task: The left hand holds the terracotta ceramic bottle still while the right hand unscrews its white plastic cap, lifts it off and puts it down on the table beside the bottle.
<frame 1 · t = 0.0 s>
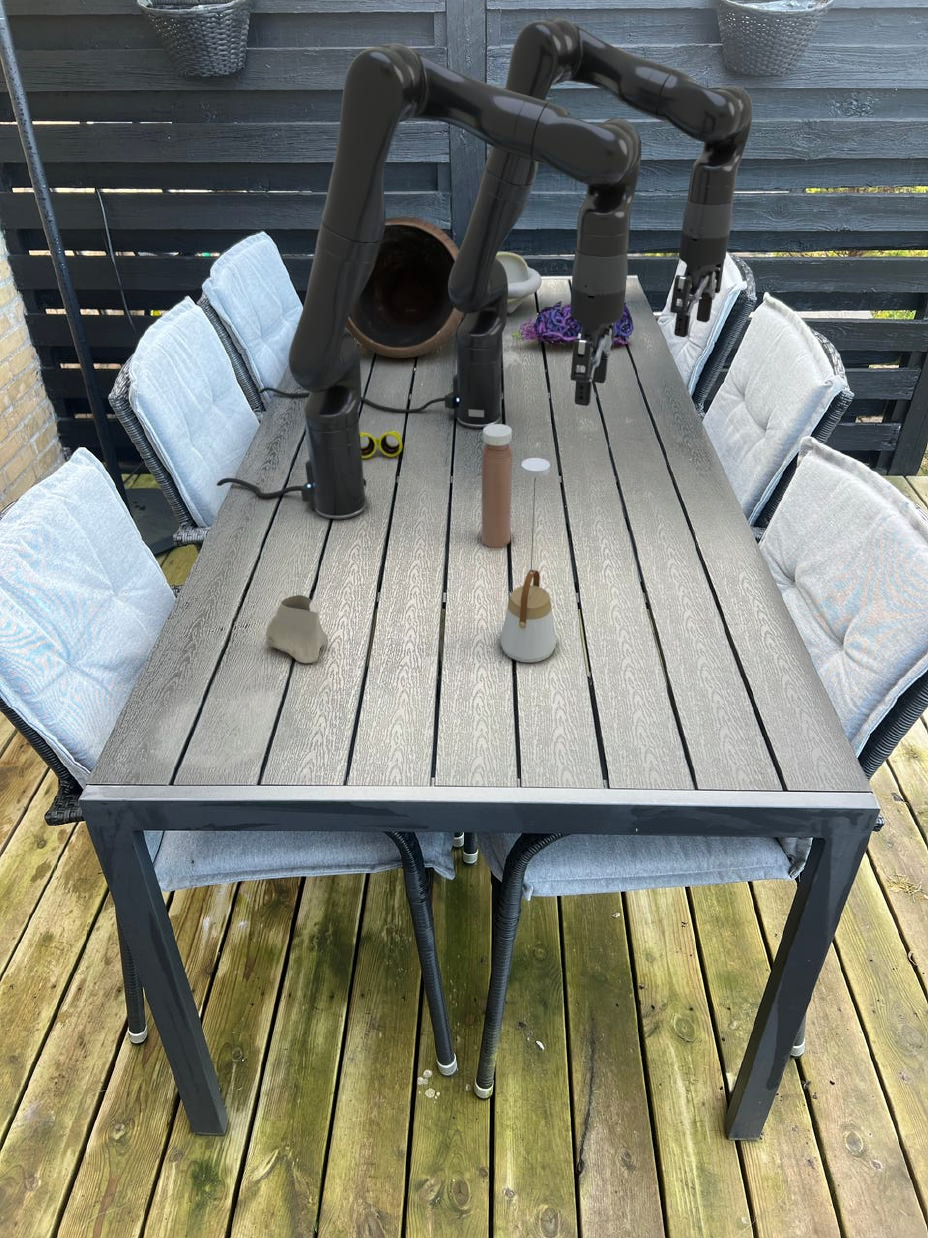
left hand: (590, 392, 139), 29 cm above the table, tool pointing down, fingers open, 8 cm apart
right hand: (691, 328, 160), 29 cm above the table, tool pointing down, fingers open, 8 cm apart
bottle: (495, 539, 161), on the table
grey hollow flared piece: (296, 651, 137), on the table
pot: (408, 341, 235), on the table
decorative ornament: (570, 346, 231), on the table
cap: (497, 431, 149), point 20 cm above the table, screwed on, not yet turned
opera glasses: (378, 453, 187), on the table
pendant light: (527, 646, 138), on the table
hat: (500, 309, 253), on the table
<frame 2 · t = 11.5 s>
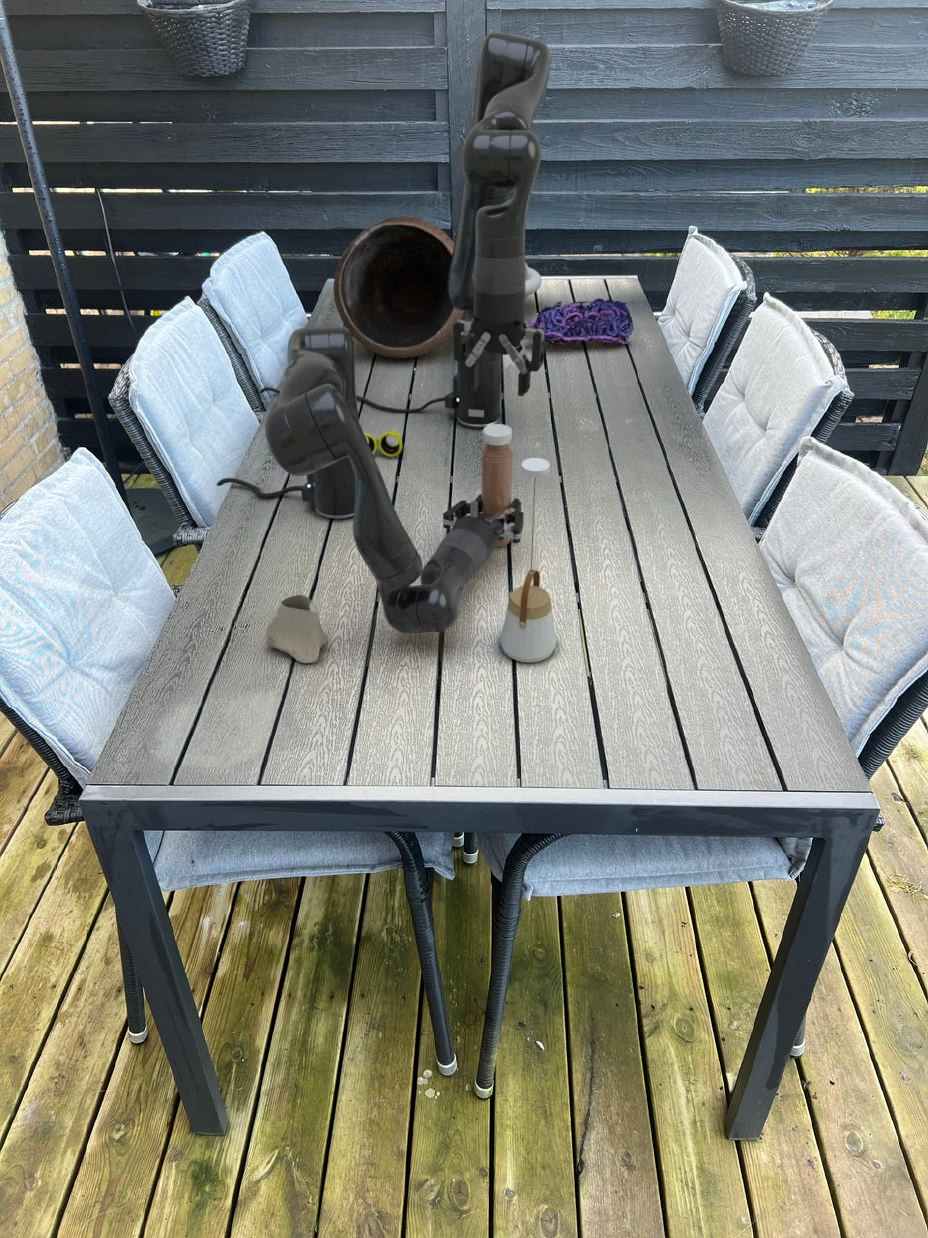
left hand: (501, 499, 159), 7 cm above the table, tool horizontal, fingers closed on bottle, 5 cm apart
right hand: (498, 390, 144), 27 cm above the table, tool pointing down, fingers open, 7 cm apart
bottle: (495, 539, 161), on the table, touching left hand
everything else where it was.
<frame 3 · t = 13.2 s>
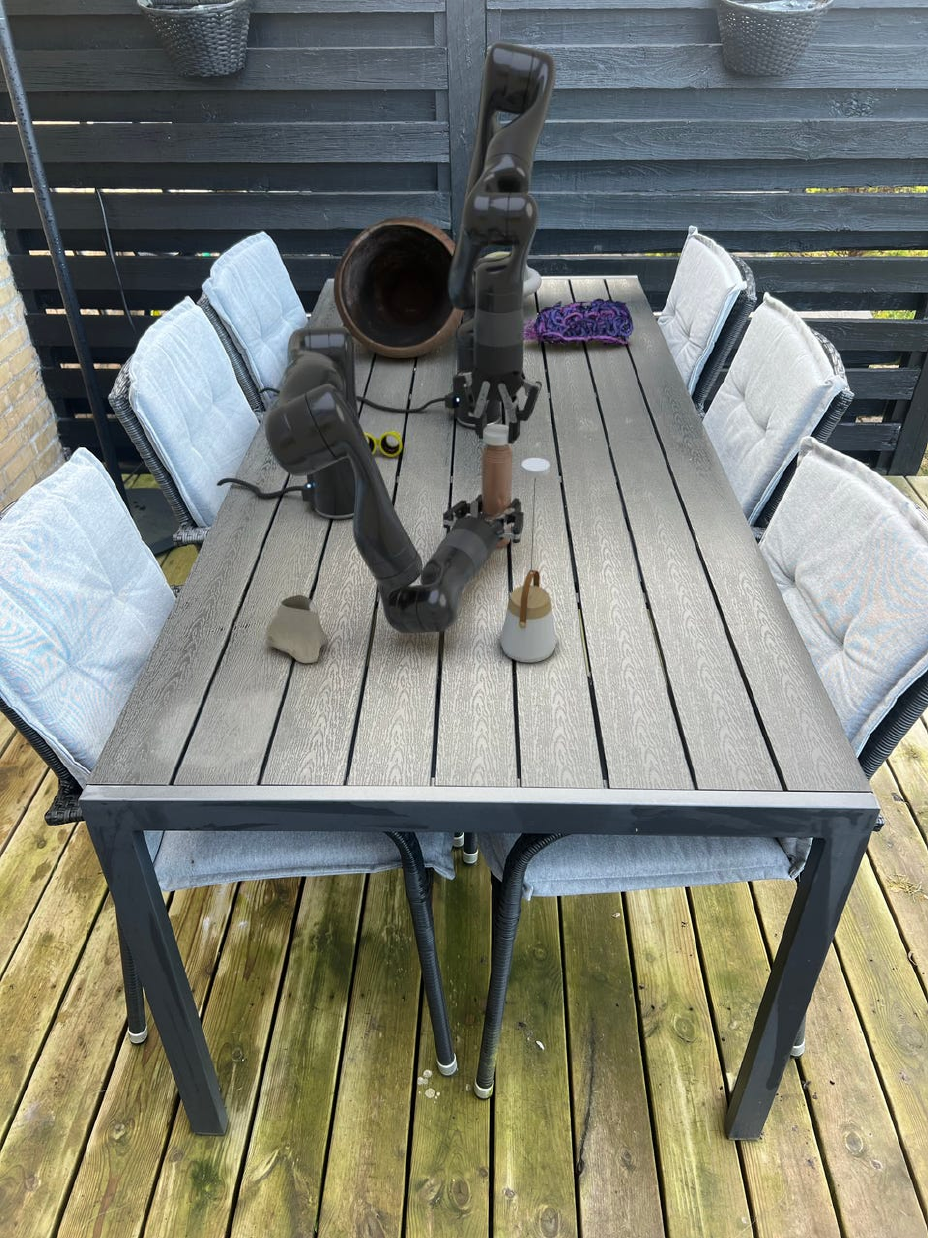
left hand: (501, 499, 159), 6 cm above the table, tool horizontal, fingers closed on bottle, 5 cm apart
right hand: (497, 438, 149), 19 cm above the table, tool pointing down, fingers closed on cap, 4 cm apart
bottle: (495, 539, 161), on the table, touching left hand
cap: (497, 431, 149), point 20 cm above the table, screwed on, not yet turned, touching right hand
everything else where it was.
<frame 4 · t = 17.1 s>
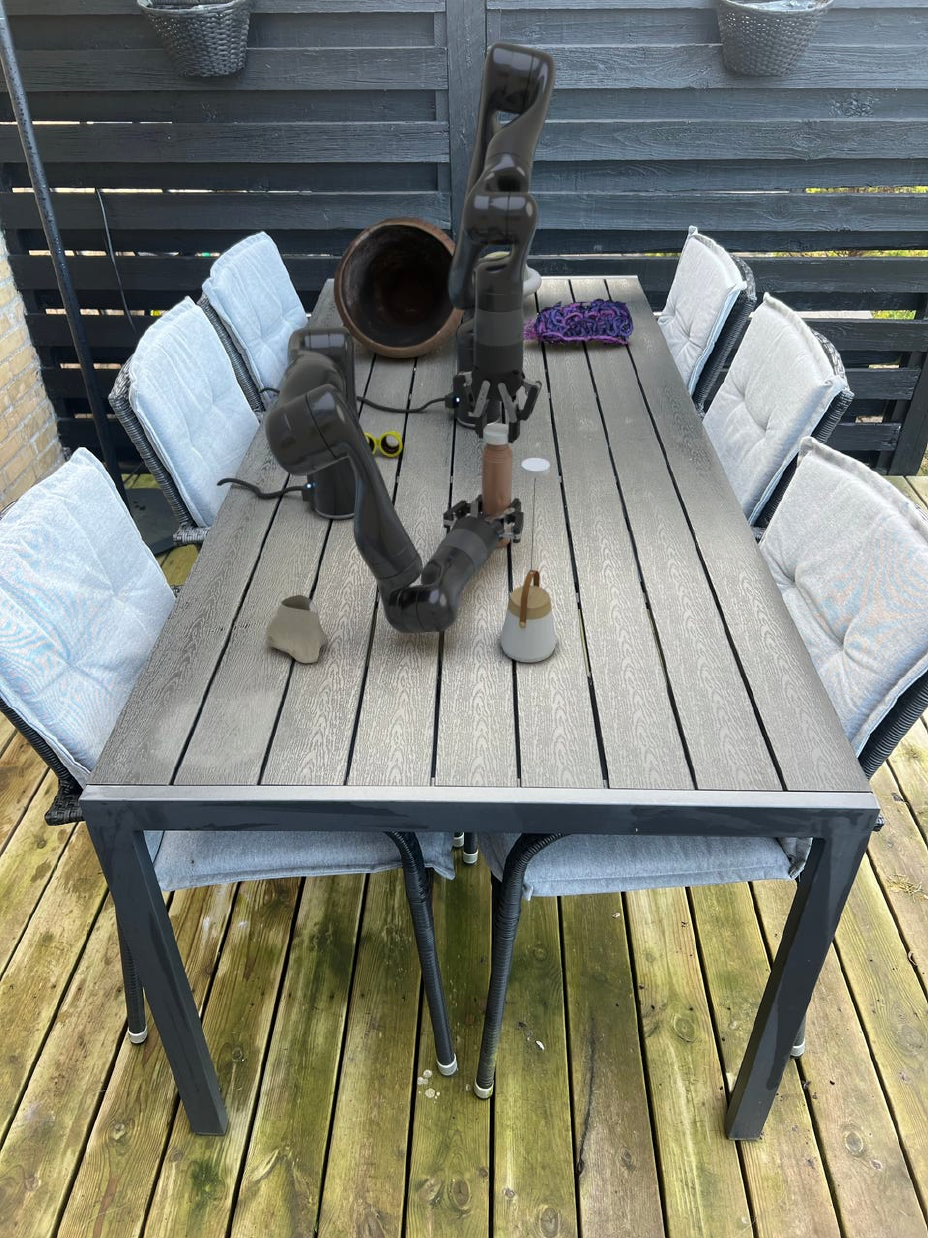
left hand: (501, 499, 159), 7 cm above the table, tool horizontal, fingers closed on bottle, 5 cm apart
right hand: (497, 438, 149), 19 cm above the table, tool pointing down, fingers closed on cap, 4 cm apart
bottle: (496, 539, 161), on the table, touching left hand
cap: (497, 431, 149), point 21 cm above the table, turned 88° so far, risen 0.1 cm, still on its thread, touching right hand
everything else where it was.
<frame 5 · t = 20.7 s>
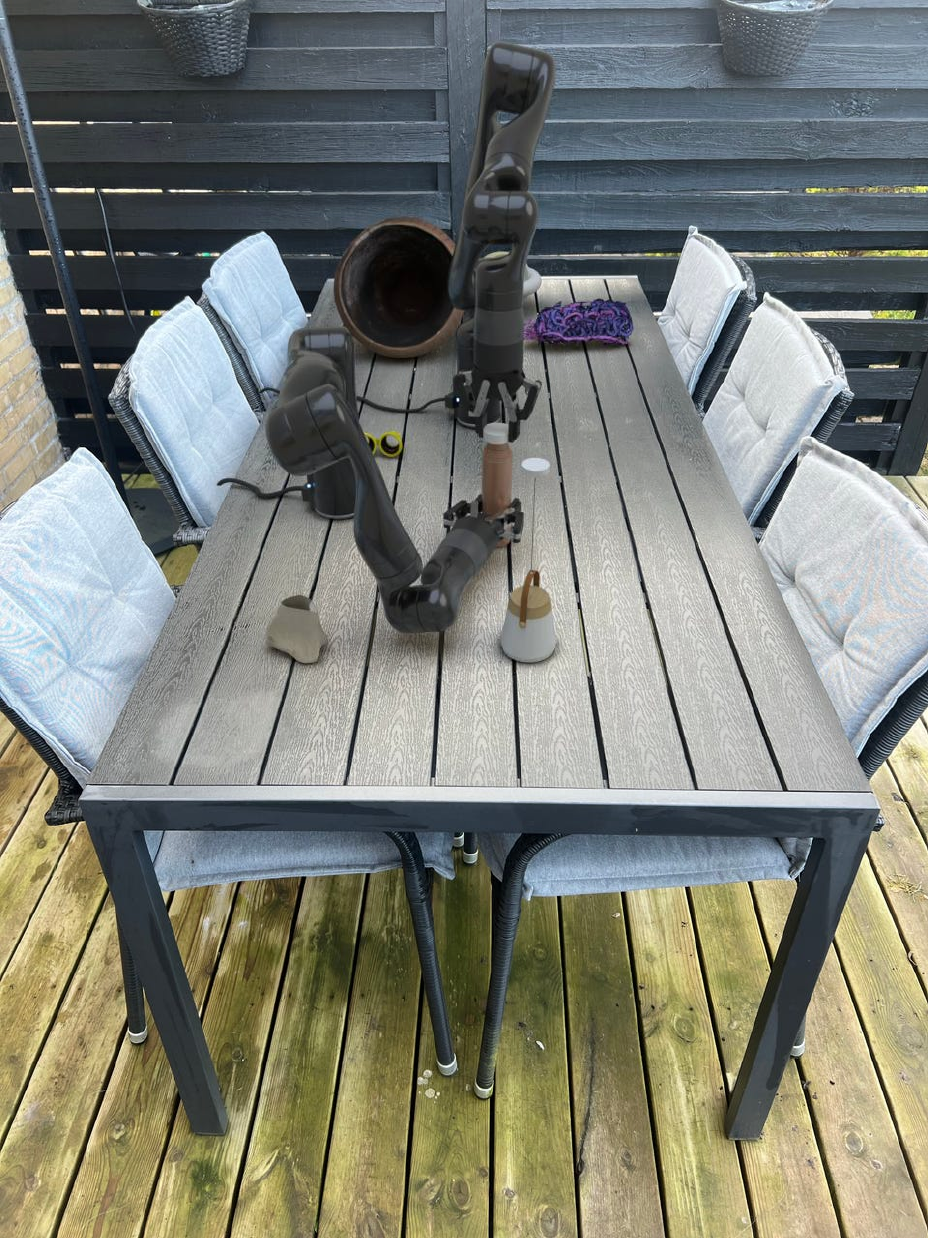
left hand: (501, 499, 159), 7 cm above the table, tool horizontal, fingers closed on bottle, 5 cm apart
right hand: (497, 437, 149), 19 cm above the table, tool pointing down, fingers closed on cap, 4 cm apart
bottle: (496, 539, 161), on the table, touching left hand
cap: (497, 430, 148), point 21 cm above the table, turned 177° so far, risen 0.2 cm, still on its thread, touching right hand
everything else where it was.
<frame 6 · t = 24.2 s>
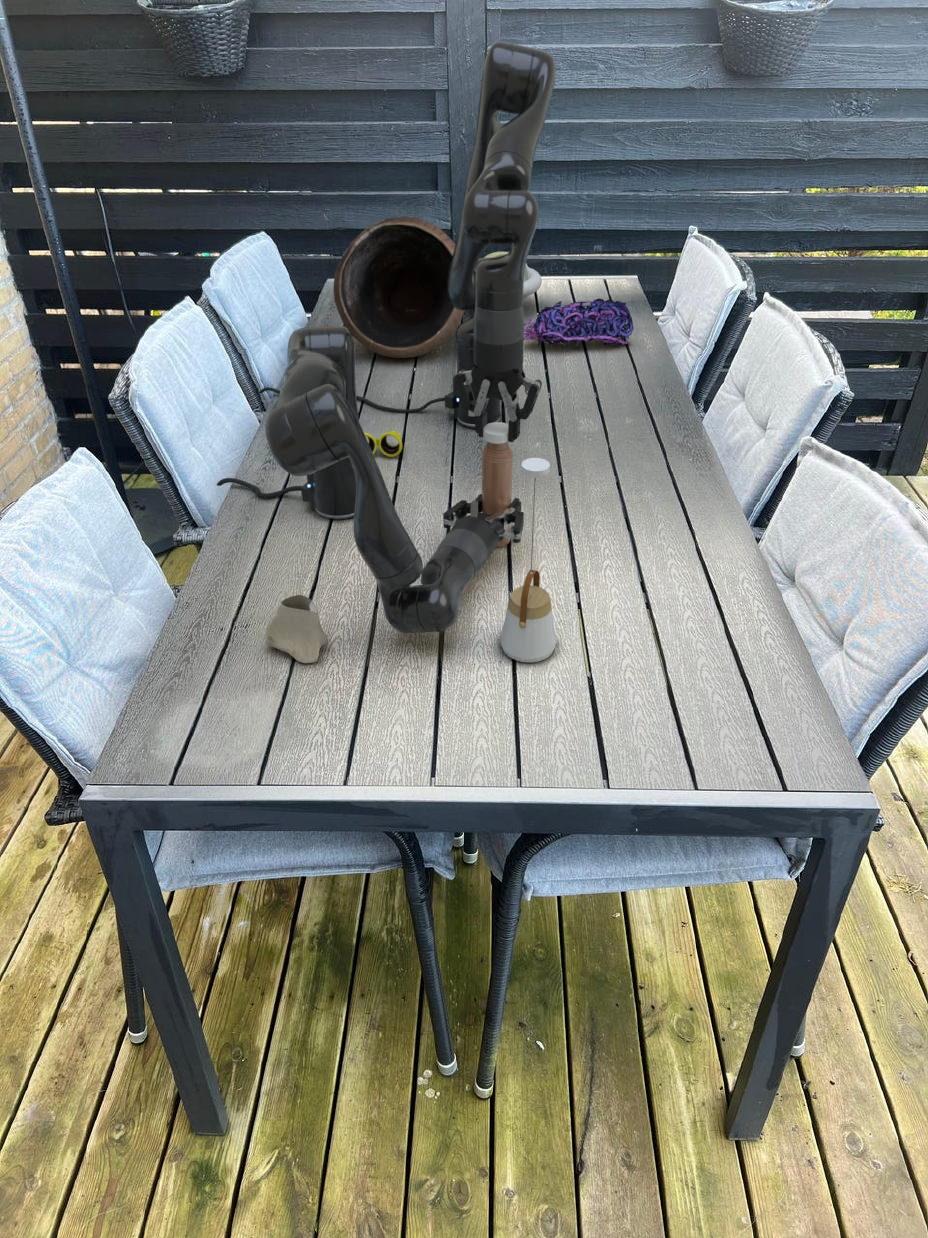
left hand: (501, 499, 159), 7 cm above the table, tool horizontal, fingers closed on bottle, 5 cm apart
right hand: (497, 437, 149), 19 cm above the table, tool pointing down, fingers closed on cap, 4 cm apart
bottle: (496, 539, 161), on the table, touching left hand
cap: (497, 430, 148), point 21 cm above the table, turned 265° so far, risen 0.3 cm, still on its thread, touching right hand
everything else where it was.
when the right hand's fingers open (1 cm above the table, at t = 39.4 s): cap stays where it is, point 1 cm above the table.
when the left hand's fingers open (6 cm above the table, at t = 40.5 s): bottle stays where it is, on the table.
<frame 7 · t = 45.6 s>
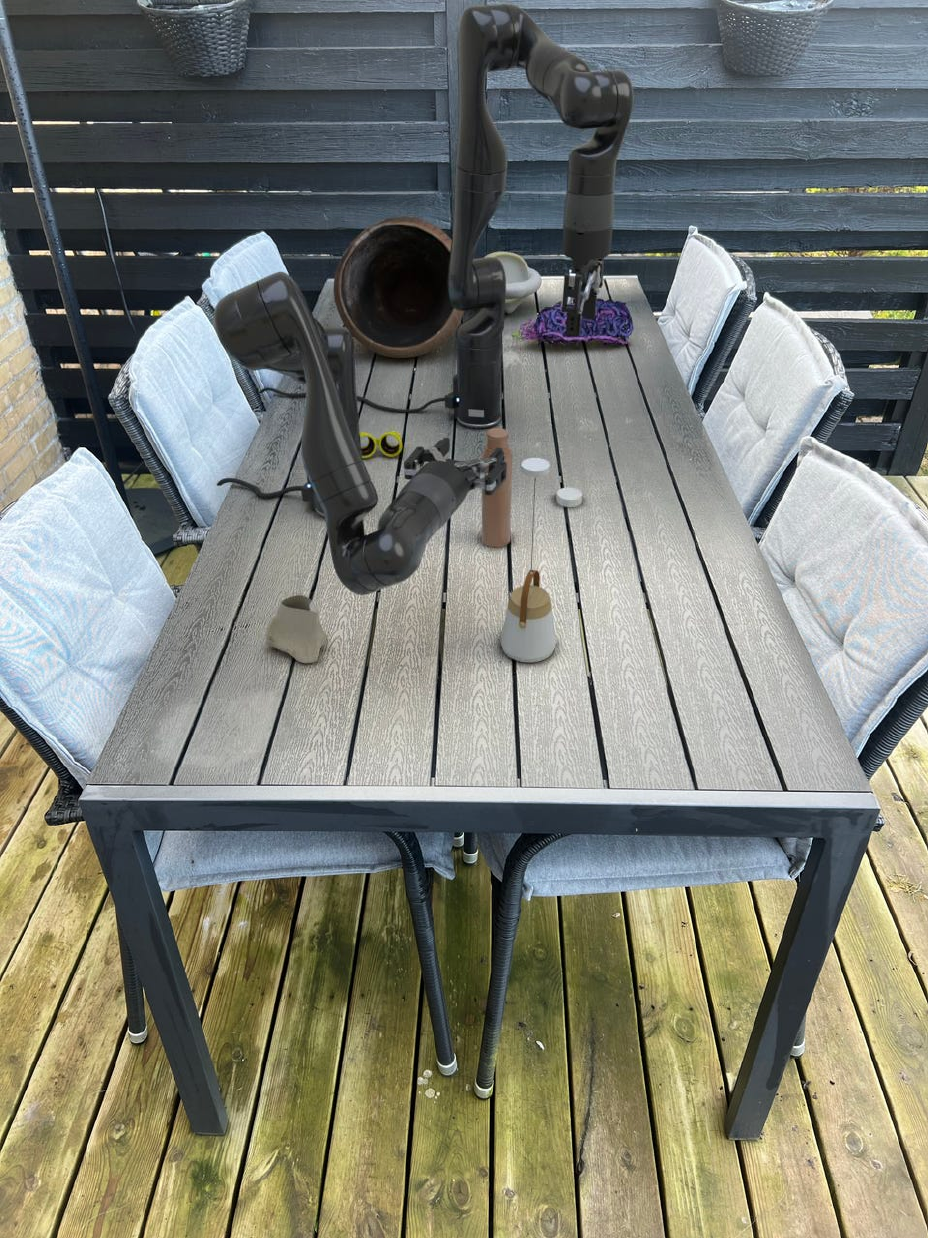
left hand: (473, 448, 140), 22 cm above the table, tool horizontal, fingers open, 8 cm apart
right hand: (580, 326, 151), 33 cm above the table, tool pointing down, fingers open, 8 cm apart
bottle: (495, 539, 161), on the table
cap: (569, 494, 170), point 1 cm above the table, off its thread
everything else where it was.
at the end: cap came off its thread; cap point 1.3 cm above the table; the left hand is holding nothing; the right hand is holding nothing; bottle tilted 0°; bottle moved 0.0 cm from its start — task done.
